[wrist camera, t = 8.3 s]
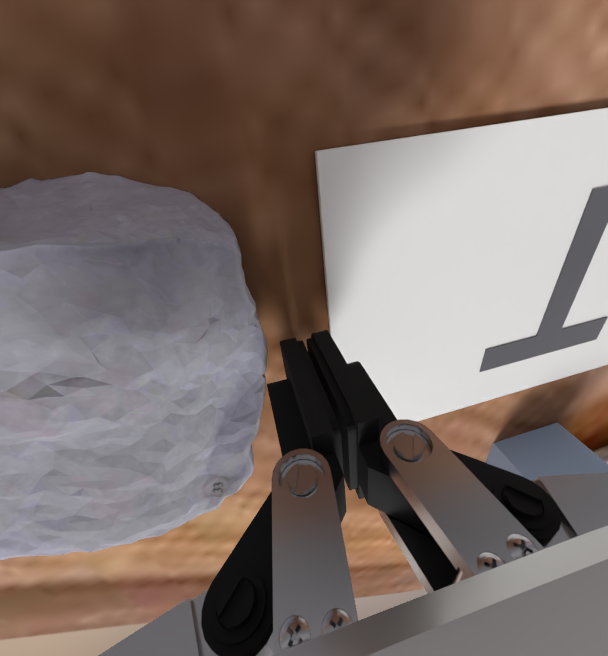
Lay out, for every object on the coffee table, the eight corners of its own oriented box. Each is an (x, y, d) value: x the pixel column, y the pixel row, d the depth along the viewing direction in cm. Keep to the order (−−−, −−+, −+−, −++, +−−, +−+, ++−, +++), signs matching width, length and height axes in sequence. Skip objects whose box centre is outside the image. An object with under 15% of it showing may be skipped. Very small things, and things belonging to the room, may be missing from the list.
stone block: (223, 163, 10) (-286, 165, 6) (280, 190, 6) (-887, 236, 2) (246, 413, 16) (11, 490, 13) (280, 495, 13) (-34, 637, 9)
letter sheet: (866, 68, 12) (878, 67, 11) (674, 341, 19) (680, 343, 19) (314, 150, 8) (317, 151, 8) (337, 441, 16) (339, 445, 15)
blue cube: (556, 421, 21) (640, 491, 17) (533, 463, 24) (601, 533, 19) (492, 441, 20) (564, 520, 16) (476, 483, 23) (534, 559, 19)
